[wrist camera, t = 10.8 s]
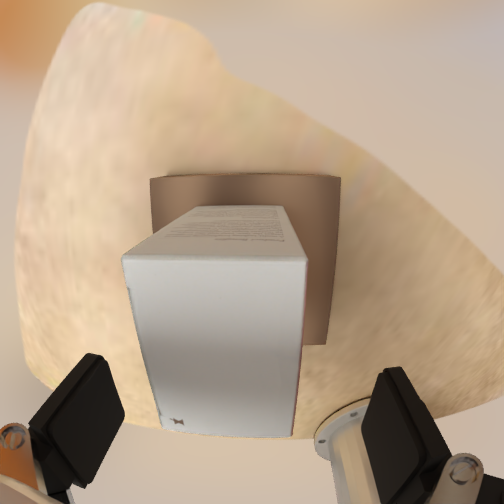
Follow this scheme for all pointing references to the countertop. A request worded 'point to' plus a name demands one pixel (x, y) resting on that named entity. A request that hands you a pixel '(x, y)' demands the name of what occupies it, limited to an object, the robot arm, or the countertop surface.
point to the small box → (222, 319)
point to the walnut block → (278, 194)
